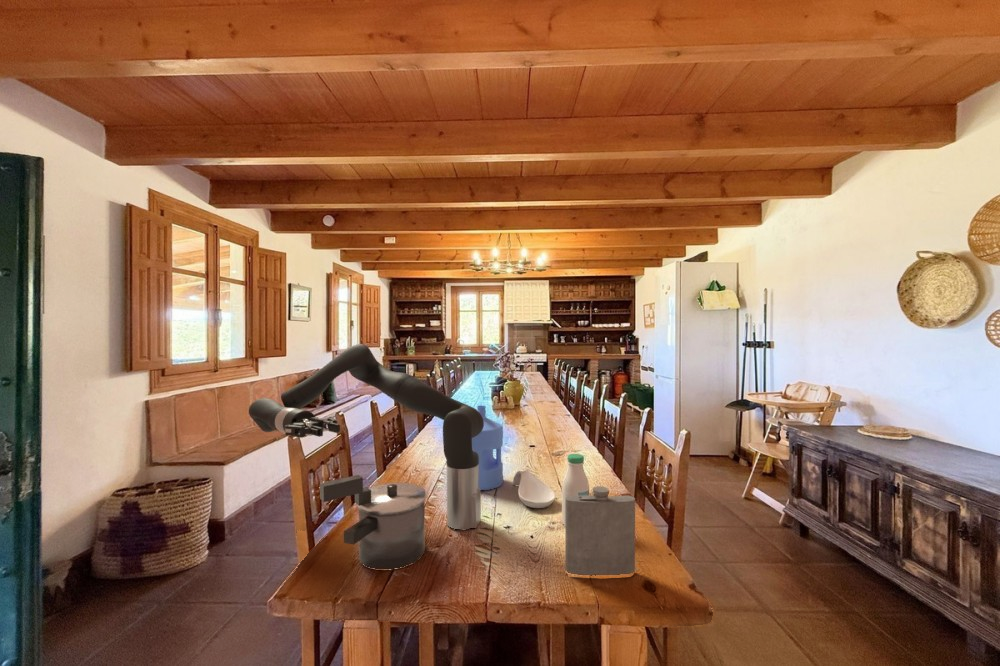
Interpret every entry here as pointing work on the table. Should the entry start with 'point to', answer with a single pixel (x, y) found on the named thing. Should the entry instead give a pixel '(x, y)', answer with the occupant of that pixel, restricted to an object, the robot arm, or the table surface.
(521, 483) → the spoon rest
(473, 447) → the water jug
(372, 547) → the pressure cooker pot
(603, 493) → the hip flask
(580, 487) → the milk bottle
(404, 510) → the pressure cooker lid
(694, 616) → the table surface
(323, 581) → the table surface
